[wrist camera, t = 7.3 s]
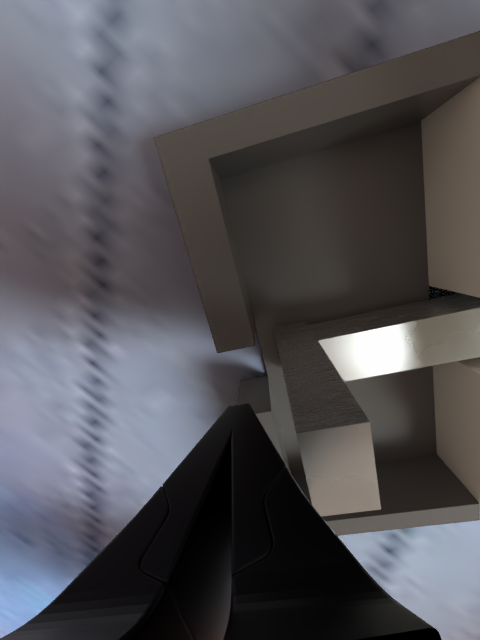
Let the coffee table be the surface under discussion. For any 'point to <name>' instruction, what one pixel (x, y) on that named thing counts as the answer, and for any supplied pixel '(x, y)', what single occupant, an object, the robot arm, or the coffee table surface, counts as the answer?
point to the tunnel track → (349, 254)
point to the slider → (355, 363)
